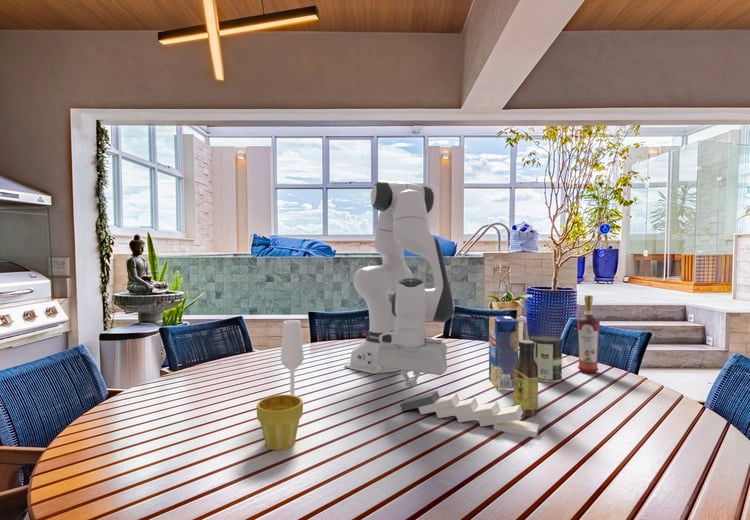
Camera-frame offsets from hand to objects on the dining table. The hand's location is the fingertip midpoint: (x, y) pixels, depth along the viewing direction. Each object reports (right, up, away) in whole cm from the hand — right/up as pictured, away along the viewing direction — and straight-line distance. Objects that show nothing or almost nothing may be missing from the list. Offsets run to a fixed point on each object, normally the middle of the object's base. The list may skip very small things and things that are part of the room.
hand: (410, 386), depth 117 cm
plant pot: (-32, -7, -20) cm, 39 cm away
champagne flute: (-34, -7, +6) cm, 35 cm away
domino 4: (+13, -6, -7) cm, 15 cm away
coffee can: (+50, -6, +29) cm, 58 cm away
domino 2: (+3, -6, -1) cm, 7 cm away
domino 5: (+18, -6, -9) cm, 21 cm away
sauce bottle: (+31, -7, -3) cm, 32 cm away
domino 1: (-2, -6, +1) cm, 6 cm away
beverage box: (+32, -6, +22) cm, 40 cm away
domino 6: (+21, -7, -11) cm, 24 cm away
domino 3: (+8, -6, -4) cm, 10 cm away
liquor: (+68, -6, +36) cm, 77 cm away
